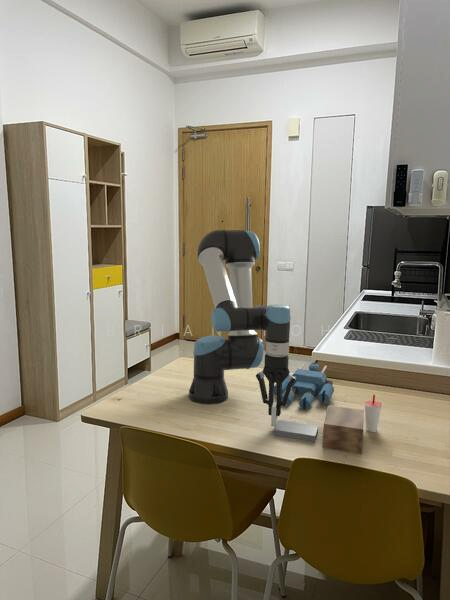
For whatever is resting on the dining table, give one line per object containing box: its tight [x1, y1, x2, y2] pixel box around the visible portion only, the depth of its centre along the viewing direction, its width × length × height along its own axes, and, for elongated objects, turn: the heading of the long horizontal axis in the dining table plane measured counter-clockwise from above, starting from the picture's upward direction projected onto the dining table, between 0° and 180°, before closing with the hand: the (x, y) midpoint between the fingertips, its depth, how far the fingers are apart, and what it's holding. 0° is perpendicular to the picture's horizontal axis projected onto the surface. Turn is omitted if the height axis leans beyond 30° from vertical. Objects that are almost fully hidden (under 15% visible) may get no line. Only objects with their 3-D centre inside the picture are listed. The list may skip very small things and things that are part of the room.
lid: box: [272, 419, 319, 443], centre depth 144 cm, size 13×8×2 cm, turn 72°
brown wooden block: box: [322, 405, 365, 455], centre depth 140 cm, size 11×15×8 cm
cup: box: [364, 394, 383, 433], centre depth 147 cm, size 5×5×12 cm
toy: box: [274, 362, 335, 410], centre depth 178 cm, size 22×9×30 cm
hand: (274, 424), depth 146 cm, fingers closed
